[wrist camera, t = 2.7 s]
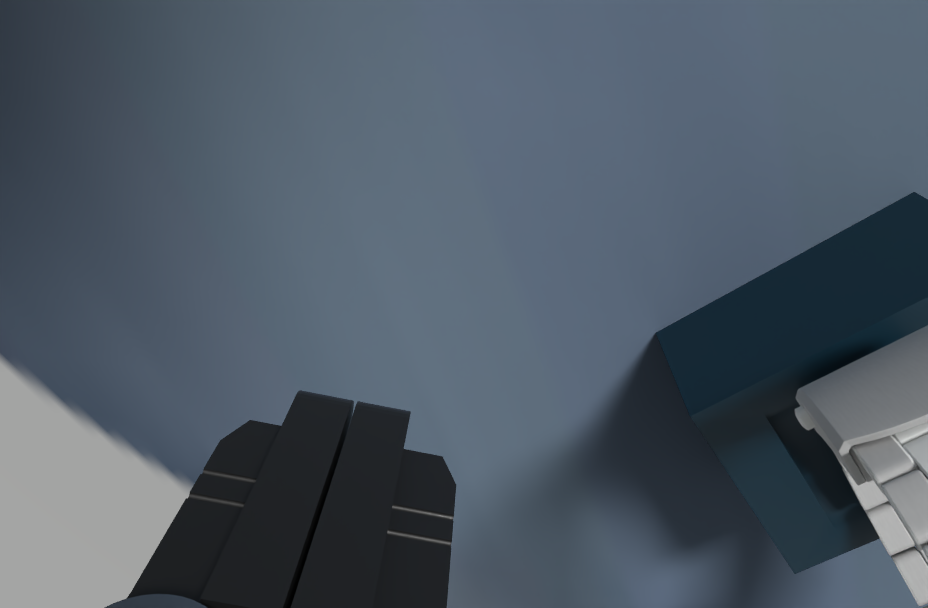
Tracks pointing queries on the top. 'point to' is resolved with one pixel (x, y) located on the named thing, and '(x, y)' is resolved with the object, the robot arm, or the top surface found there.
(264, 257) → the top surface
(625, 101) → the top surface
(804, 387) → the watch
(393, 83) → the top surface
